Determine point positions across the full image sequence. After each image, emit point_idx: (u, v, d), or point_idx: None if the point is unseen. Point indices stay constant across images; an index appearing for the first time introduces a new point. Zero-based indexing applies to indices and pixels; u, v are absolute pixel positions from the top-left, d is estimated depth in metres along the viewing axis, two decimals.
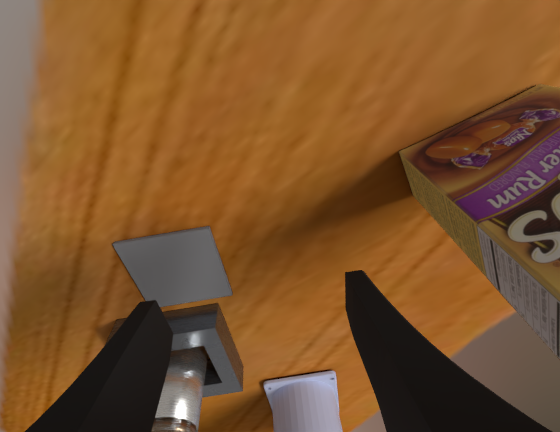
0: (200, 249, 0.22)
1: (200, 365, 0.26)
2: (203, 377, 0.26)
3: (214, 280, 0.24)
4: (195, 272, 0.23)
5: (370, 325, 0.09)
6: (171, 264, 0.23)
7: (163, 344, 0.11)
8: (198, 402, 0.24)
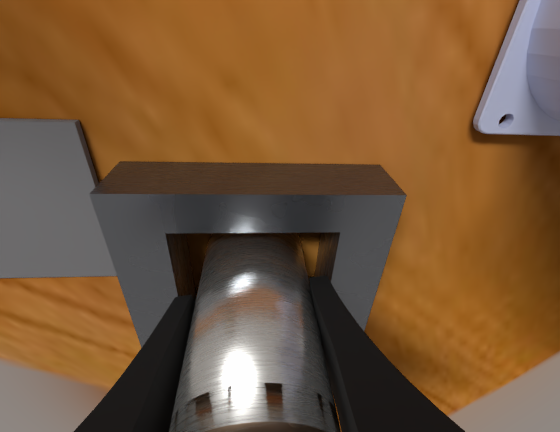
0: None
1: (234, 258, 0.11)
2: (257, 268, 0.10)
3: (23, 150, 0.10)
4: (1, 179, 0.11)
5: (325, 331, 0.09)
6: None
7: None
8: (247, 324, 0.08)
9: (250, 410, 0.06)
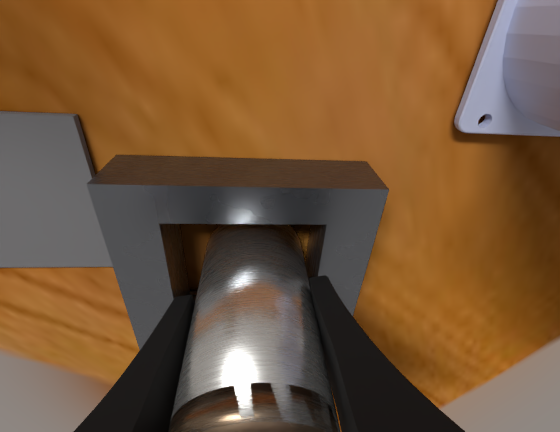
0: None
1: (234, 258, 0.11)
2: (257, 268, 0.10)
3: (23, 142, 0.11)
4: (1, 170, 0.11)
5: (325, 331, 0.09)
6: None
7: None
8: (246, 324, 0.08)
9: (249, 409, 0.06)
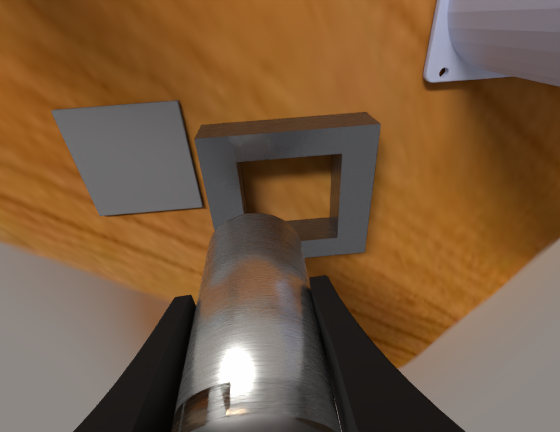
0: (90, 128, 0.17)
1: (235, 257, 0.11)
2: (257, 267, 0.10)
3: (147, 122, 0.17)
4: (132, 142, 0.18)
5: (325, 331, 0.09)
6: (122, 167, 0.19)
7: None
8: (247, 321, 0.08)
9: (250, 404, 0.07)
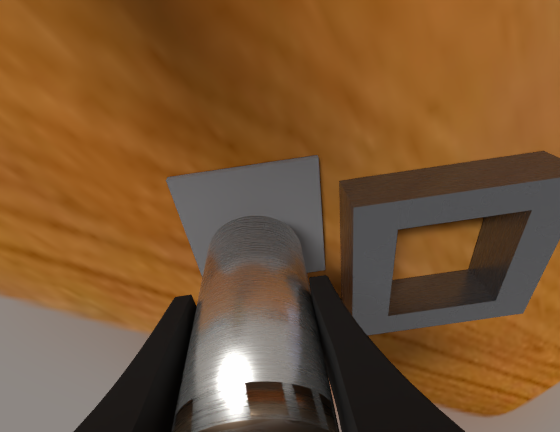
0: (209, 195, 0.14)
1: (233, 261, 0.11)
2: (255, 270, 0.10)
3: (277, 183, 0.14)
4: (257, 207, 0.15)
5: (325, 331, 0.09)
6: None
7: None
8: (244, 325, 0.08)
9: (245, 408, 0.07)
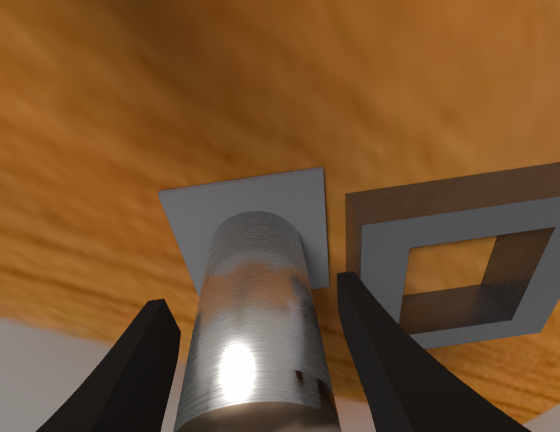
0: (205, 210, 0.13)
1: (235, 254, 0.11)
2: (256, 263, 0.10)
3: (279, 197, 0.13)
4: None
5: (360, 326, 0.09)
6: None
7: (171, 343, 0.11)
8: (246, 314, 0.09)
9: (248, 391, 0.07)
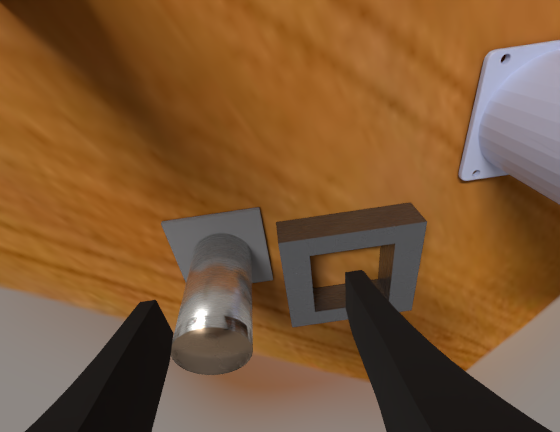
0: (189, 232, 0.22)
1: (205, 260, 0.20)
2: (216, 265, 0.19)
3: (234, 225, 0.22)
4: None
5: (370, 325, 0.09)
6: None
7: (163, 344, 0.11)
8: (207, 292, 0.17)
9: (205, 323, 0.15)
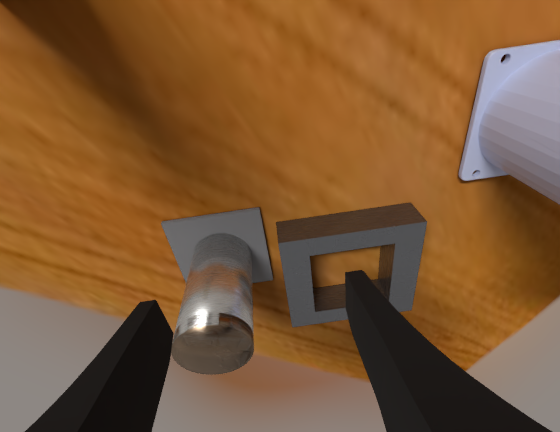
0: (189, 232, 0.22)
1: (206, 259, 0.20)
2: (217, 264, 0.19)
3: (234, 225, 0.22)
4: None
5: (370, 325, 0.09)
6: None
7: (163, 344, 0.11)
8: (209, 290, 0.17)
9: (206, 321, 0.15)
